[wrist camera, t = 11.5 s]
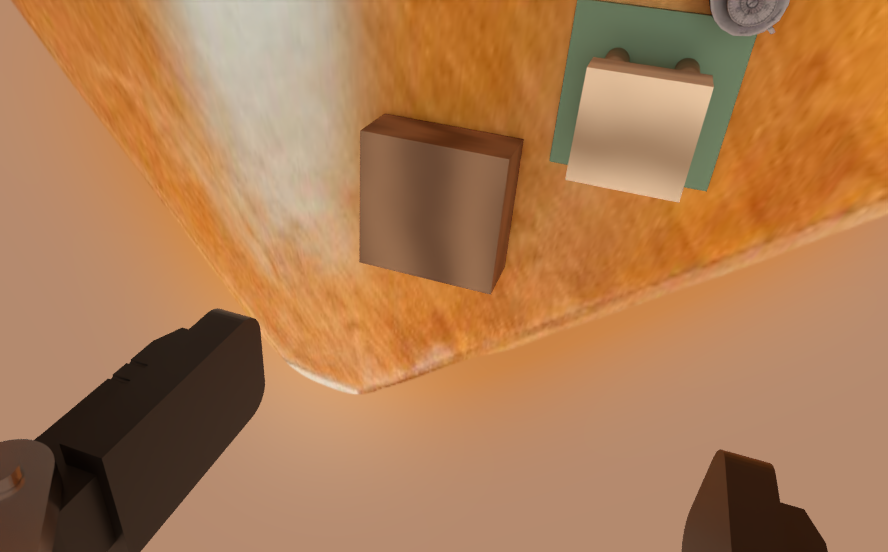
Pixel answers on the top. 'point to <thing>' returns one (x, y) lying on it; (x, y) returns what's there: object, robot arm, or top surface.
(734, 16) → the camera
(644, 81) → the cream studded brick
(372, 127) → the brown square block
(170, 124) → the top surface
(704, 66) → the pad
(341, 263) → the top surface
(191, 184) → the top surface
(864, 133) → the top surface
